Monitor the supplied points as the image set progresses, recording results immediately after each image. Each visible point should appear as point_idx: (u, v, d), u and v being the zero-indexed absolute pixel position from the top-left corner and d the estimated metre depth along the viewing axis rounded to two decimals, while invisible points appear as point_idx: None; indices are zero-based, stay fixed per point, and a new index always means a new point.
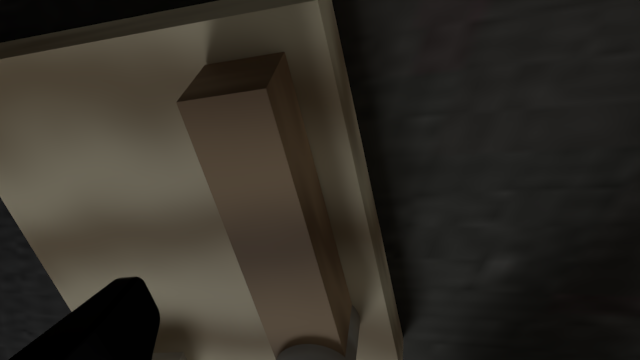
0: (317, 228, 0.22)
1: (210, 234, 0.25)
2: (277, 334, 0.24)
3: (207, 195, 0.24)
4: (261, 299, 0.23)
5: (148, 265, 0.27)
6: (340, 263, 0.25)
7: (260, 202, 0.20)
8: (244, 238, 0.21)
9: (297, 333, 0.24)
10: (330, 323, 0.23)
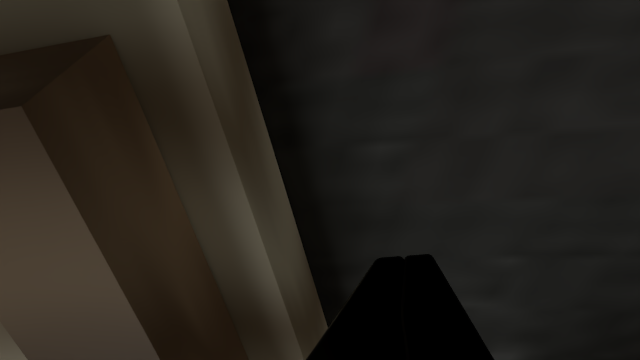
0: (190, 338, 0.13)
1: None
2: None
3: None
4: None
5: None
6: None
7: (66, 309, 0.11)
8: None
9: None
10: None
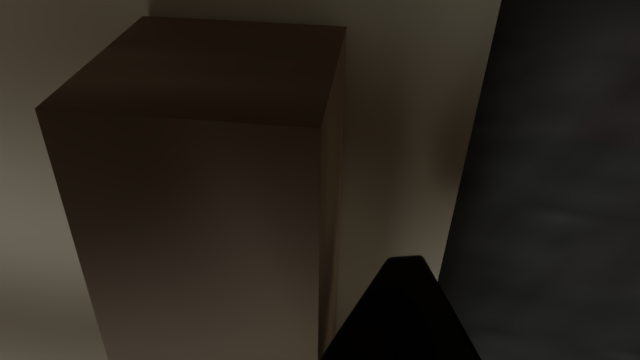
0: None
1: None
2: None
3: None
4: None
5: None
6: None
7: None
8: None
9: None
10: None
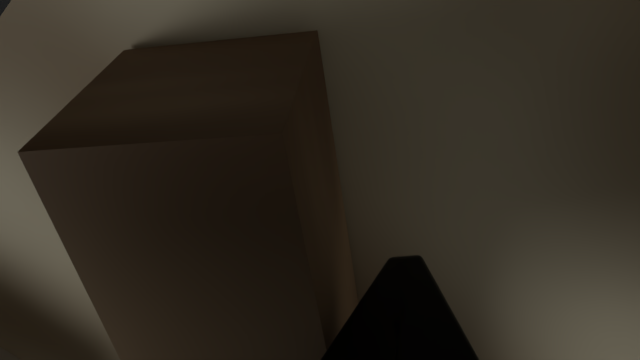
0: None
1: None
2: None
3: (489, 311, 0.11)
4: None
5: None
6: None
7: None
8: None
9: None
10: None
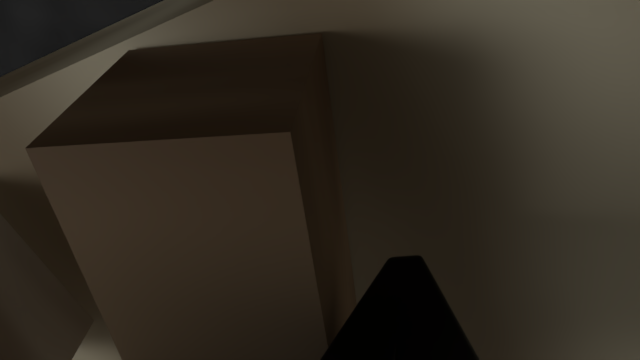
0: None
1: None
2: None
3: None
4: None
5: (355, 269, 0.11)
6: None
7: None
8: None
9: None
10: None
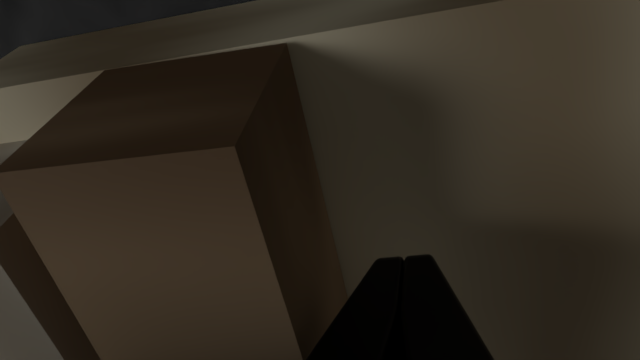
0: None
1: None
2: None
3: None
4: None
5: (469, 295, 0.11)
6: None
7: None
8: None
9: None
10: None
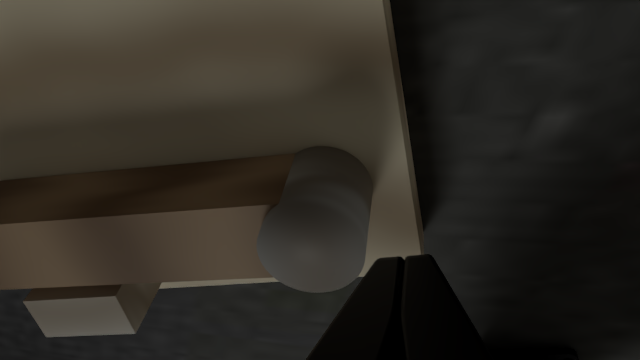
0: (122, 196, 0.20)
1: (176, 61, 0.19)
2: (251, 267, 0.20)
3: None
4: (197, 273, 0.20)
5: (97, 114, 0.21)
6: (226, 161, 0.21)
7: (66, 252, 0.20)
8: (115, 272, 0.21)
9: (245, 248, 0.19)
10: (218, 212, 0.18)
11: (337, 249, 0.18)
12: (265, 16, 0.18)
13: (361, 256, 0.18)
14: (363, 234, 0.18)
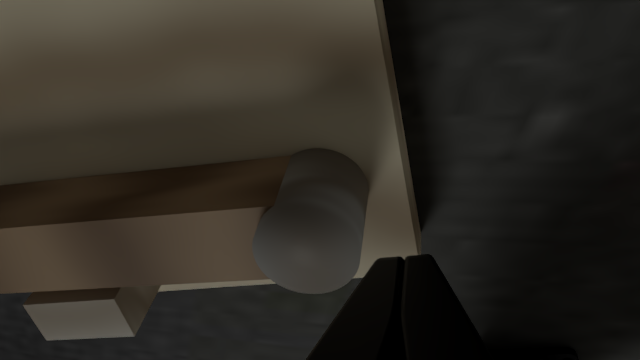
0: (119, 200, 0.20)
1: (171, 66, 0.19)
2: (248, 269, 0.20)
3: (165, 2, 0.18)
4: (194, 275, 0.20)
5: (94, 118, 0.21)
6: (222, 163, 0.21)
7: (64, 255, 0.21)
8: (113, 275, 0.21)
9: (241, 250, 0.19)
10: (214, 215, 0.19)
11: (332, 250, 0.18)
12: (259, 19, 0.18)
13: (356, 257, 0.18)
14: (358, 235, 0.18)
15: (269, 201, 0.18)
